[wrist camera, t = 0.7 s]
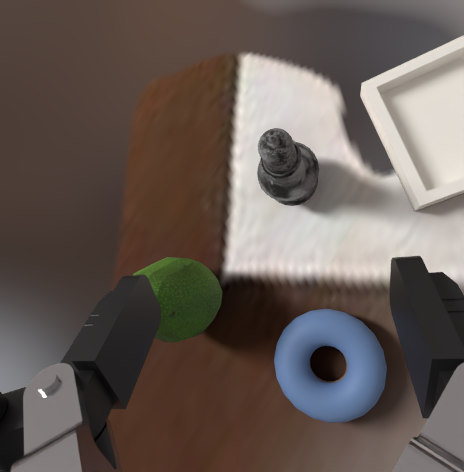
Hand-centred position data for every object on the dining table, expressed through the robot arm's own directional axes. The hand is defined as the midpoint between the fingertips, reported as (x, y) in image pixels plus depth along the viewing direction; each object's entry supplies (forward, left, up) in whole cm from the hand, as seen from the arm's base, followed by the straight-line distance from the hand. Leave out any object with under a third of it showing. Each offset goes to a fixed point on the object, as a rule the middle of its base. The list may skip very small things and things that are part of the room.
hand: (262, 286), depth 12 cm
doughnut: (+1, +7, -26) cm, 27 cm away
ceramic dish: (-18, -10, -25) cm, 32 cm away
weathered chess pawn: (-2, -11, -25) cm, 28 cm away
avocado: (+12, -3, -25) cm, 28 cm away
